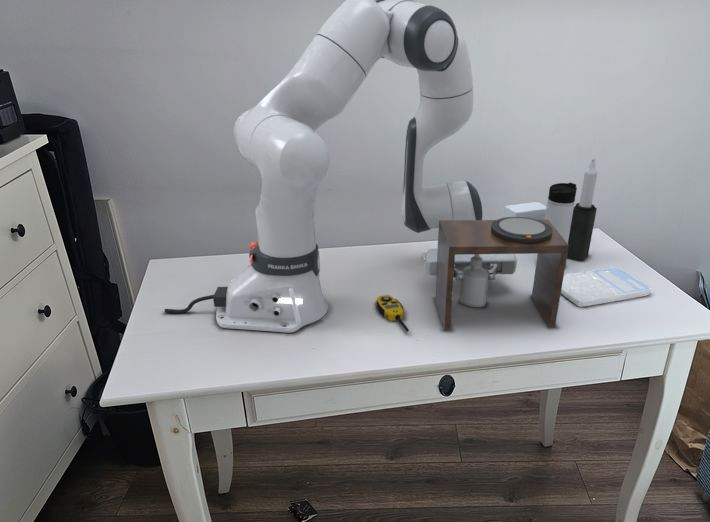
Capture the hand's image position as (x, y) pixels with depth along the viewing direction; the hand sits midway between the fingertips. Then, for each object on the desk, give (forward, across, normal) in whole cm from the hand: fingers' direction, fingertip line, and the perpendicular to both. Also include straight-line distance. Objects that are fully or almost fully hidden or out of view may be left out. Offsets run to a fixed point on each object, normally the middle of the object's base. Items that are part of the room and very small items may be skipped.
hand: (476, 277), depth 130 cm
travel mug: (-20, +24, +7) cm, 32 cm away
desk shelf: (+4, +4, +7) cm, 8 cm away
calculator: (-6, +30, +7) cm, 32 cm away
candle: (-25, +32, +7) cm, 41 cm away
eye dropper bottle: (-1, 0, +7) cm, 7 cm away
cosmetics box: (-33, +20, +7) cm, 39 cm away
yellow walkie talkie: (+5, -18, +7) cm, 19 cm away
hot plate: (+4, +8, -11) cm, 14 cm away
